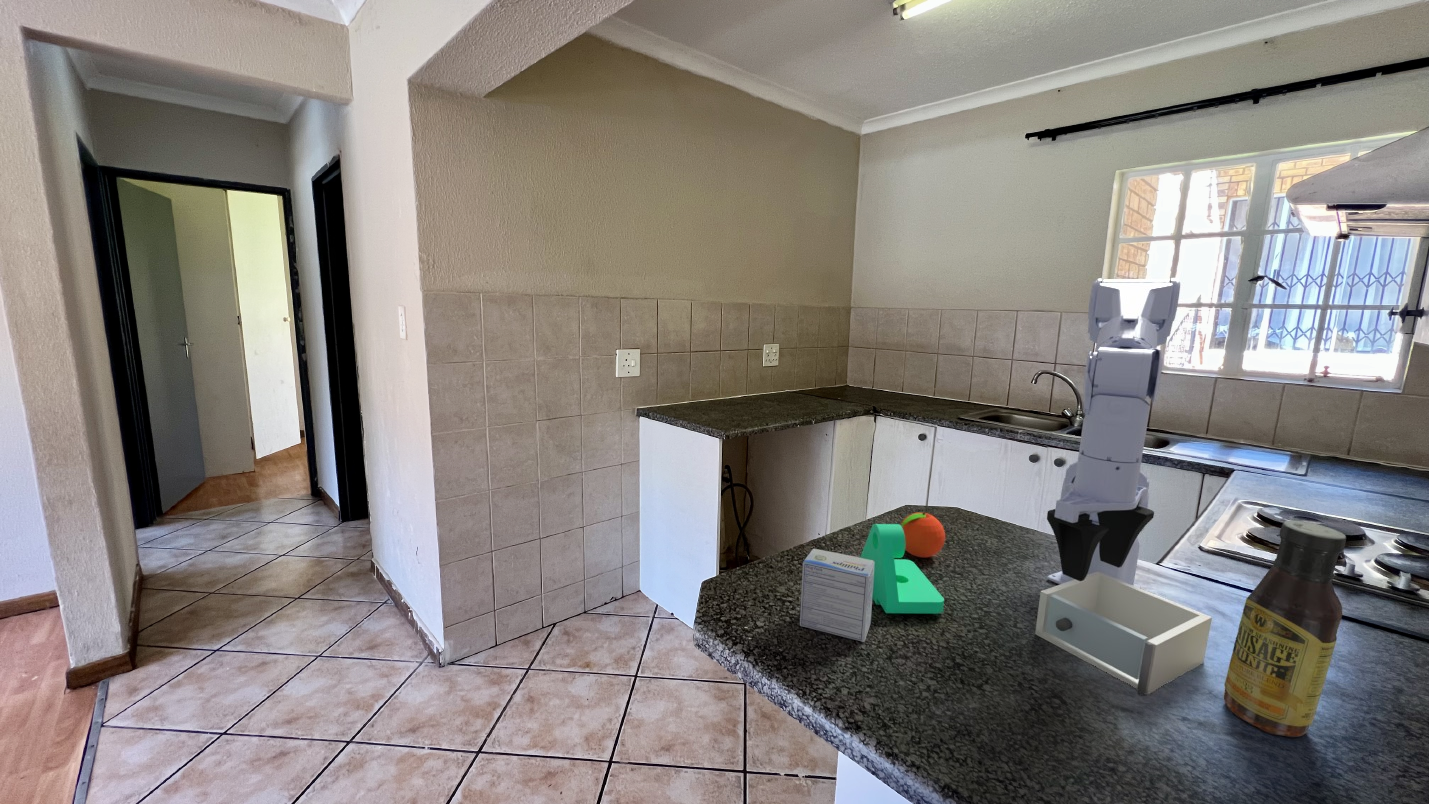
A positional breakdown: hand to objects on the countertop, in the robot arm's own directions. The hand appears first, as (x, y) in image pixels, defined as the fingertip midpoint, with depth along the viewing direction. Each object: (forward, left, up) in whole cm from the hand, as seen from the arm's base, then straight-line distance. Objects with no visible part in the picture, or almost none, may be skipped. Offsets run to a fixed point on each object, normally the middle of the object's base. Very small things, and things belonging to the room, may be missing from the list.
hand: (1092, 570), depth 65 cm
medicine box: (+24, -16, -10) cm, 30 cm away
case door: (+3, +2, -8) cm, 9 cm away
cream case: (-3, +2, -9) cm, 10 cm away
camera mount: (+11, -18, -10) cm, 23 cm away
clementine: (-1, -26, -10) cm, 28 cm away
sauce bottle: (-4, +15, -10) cm, 18 cm away
